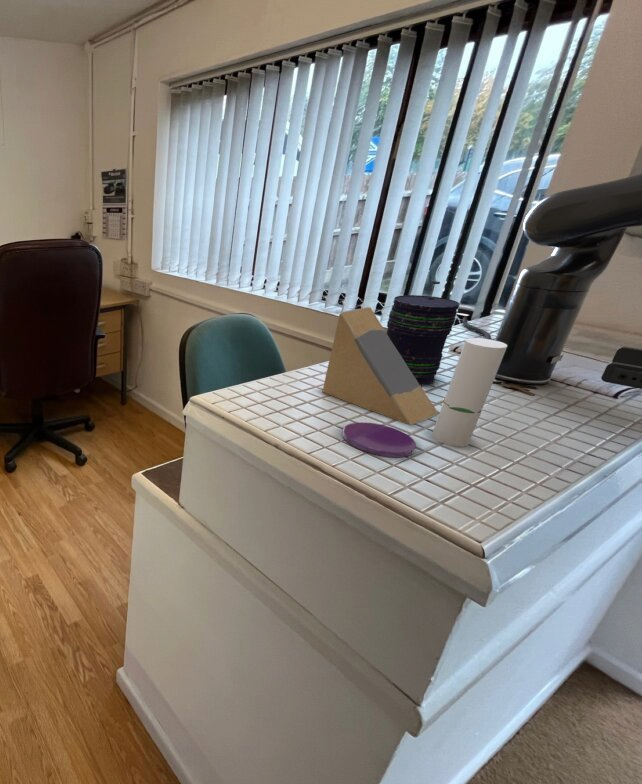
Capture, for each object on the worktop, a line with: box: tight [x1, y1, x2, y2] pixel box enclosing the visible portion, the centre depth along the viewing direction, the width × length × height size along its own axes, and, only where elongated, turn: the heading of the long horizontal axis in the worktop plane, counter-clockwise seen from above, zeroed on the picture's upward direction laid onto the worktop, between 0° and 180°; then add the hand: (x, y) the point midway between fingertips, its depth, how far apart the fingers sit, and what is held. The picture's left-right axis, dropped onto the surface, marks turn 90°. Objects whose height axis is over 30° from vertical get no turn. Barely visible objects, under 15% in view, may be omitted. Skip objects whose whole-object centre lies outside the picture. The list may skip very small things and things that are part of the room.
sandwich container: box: [322, 306, 440, 426], centre depth 77 cm, size 9×15×15 cm, turn 27°
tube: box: [431, 337, 507, 448], centre depth 65 cm, size 4×4×15 cm
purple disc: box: [342, 422, 417, 458], centre depth 68 cm, size 9×9×1 cm
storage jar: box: [385, 280, 460, 386], centre depth 87 cm, size 10×10×18 cm
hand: (609, 362), depth 54 cm, fingers open, 8 cm apart
